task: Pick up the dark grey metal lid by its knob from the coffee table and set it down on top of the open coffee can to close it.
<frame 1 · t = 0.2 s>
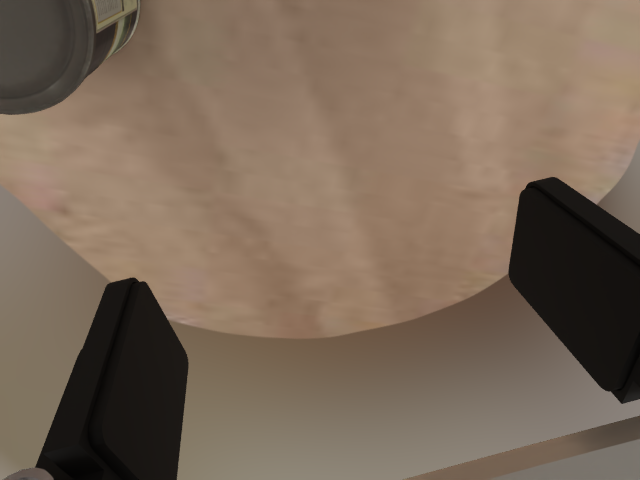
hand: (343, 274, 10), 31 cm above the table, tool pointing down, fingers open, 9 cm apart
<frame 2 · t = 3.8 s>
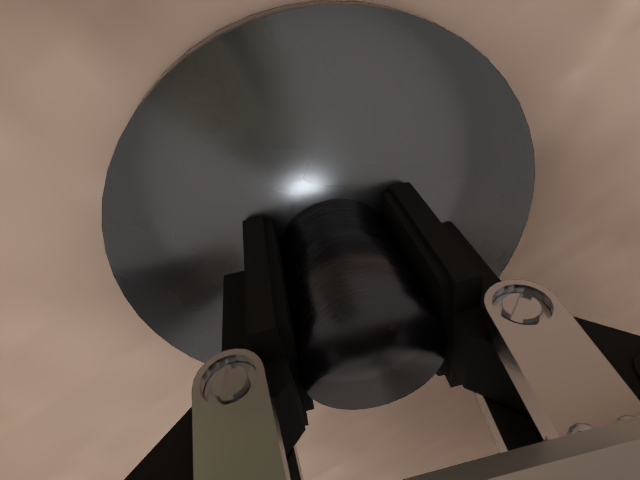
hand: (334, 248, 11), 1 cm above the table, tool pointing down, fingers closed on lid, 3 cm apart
lid: (326, 226, 12), on the table, touching gripper
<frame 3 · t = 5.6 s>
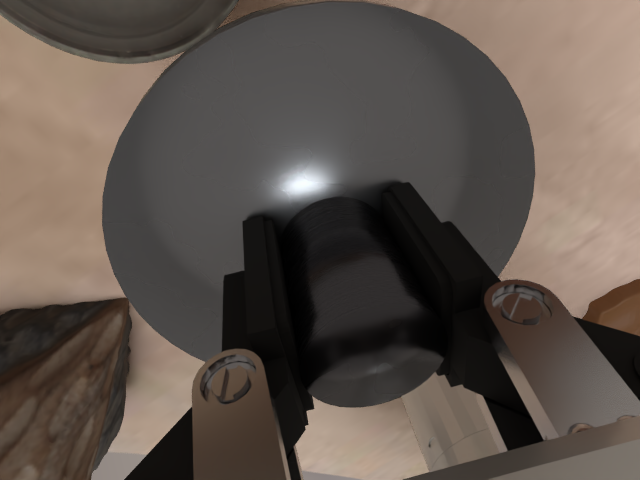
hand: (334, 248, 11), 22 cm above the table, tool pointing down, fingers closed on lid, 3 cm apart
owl: (85, 336, 39), on the table
plant: (627, 330, 54), on the table
lid: (327, 225, 12), point 21 cm above the table, touching gripper
when the fingers open (16 cm above the table, at t = 7.3 s): lid stays where it is, resting on coffee can.
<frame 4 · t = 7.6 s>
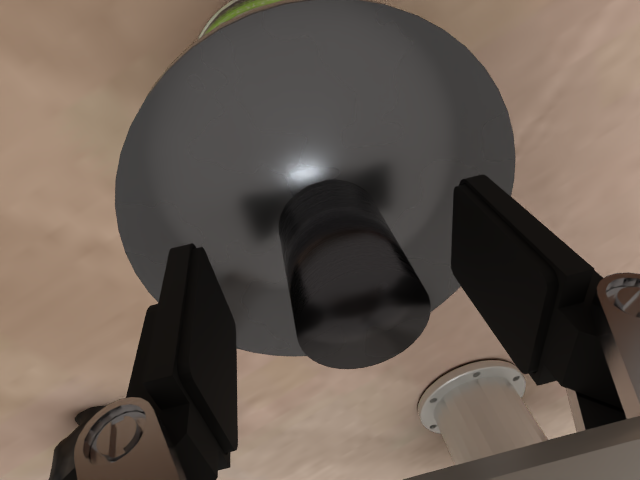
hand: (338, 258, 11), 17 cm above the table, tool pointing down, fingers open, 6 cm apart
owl: (156, 424, 41), on the table
coffee can: (278, 89, 24), on the table, touching lid
lid: (322, 208, 13), point 14 cm above the table, touching coffee can
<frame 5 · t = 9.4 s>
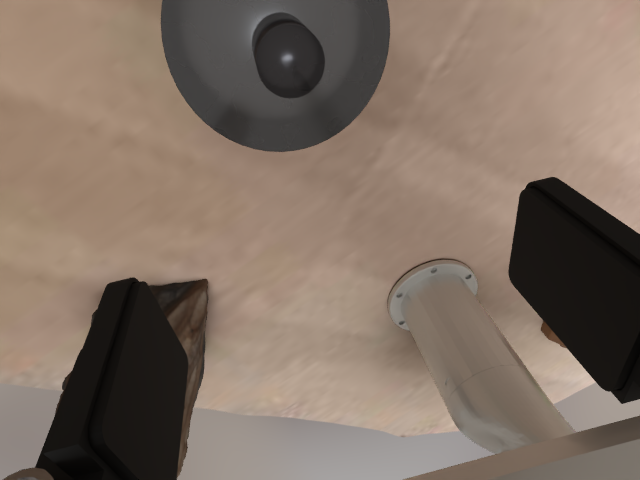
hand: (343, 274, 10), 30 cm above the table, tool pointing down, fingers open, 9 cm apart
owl: (170, 310, 50), on the table
lid: (279, 41, 22), point 14 cm above the table, touching coffee can
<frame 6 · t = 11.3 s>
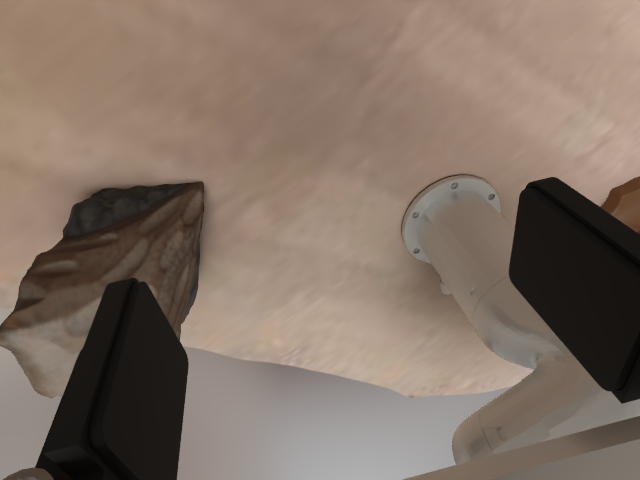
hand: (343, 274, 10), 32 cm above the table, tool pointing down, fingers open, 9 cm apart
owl: (162, 220, 45), on the table
plant: (629, 234, 60), on the table
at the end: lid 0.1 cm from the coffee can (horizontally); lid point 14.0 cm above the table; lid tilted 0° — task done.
